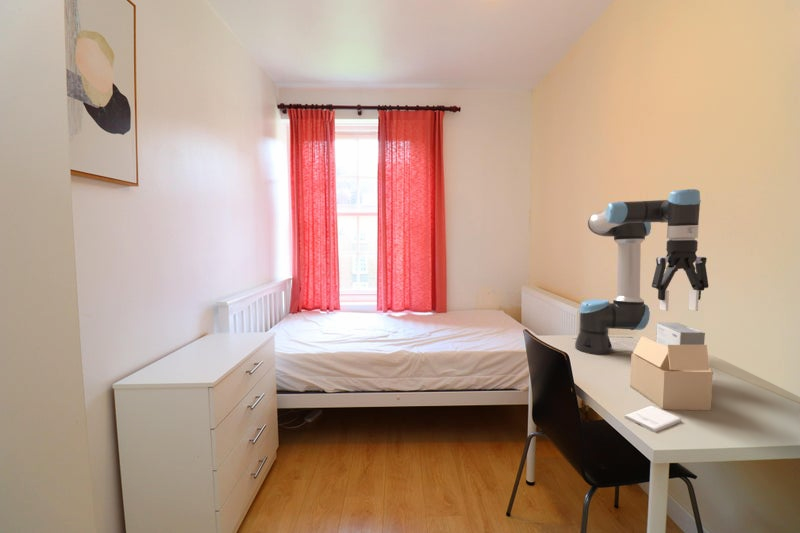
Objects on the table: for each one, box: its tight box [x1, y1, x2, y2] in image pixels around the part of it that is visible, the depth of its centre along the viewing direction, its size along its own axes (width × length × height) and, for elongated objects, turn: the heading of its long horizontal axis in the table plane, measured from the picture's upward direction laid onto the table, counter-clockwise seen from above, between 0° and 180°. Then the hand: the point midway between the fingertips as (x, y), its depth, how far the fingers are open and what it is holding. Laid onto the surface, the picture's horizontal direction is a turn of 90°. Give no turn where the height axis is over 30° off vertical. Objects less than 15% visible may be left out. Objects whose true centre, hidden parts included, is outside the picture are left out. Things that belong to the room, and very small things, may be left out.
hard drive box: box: [655, 321, 706, 347], centre depth 123 cm, size 16×8×20 cm, turn 168°
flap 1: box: [632, 335, 668, 368], centre depth 109 cm, size 13×7×1 cm
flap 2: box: [667, 344, 711, 370], centre depth 101 cm, size 7×11×1 cm
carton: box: [629, 353, 714, 411], centre depth 110 cm, size 16×15×12 cm
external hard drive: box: [624, 405, 682, 433], centre depth 97 cm, size 2×8×12 cm
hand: (678, 309), depth 108 cm, fingers open, 8 cm apart
